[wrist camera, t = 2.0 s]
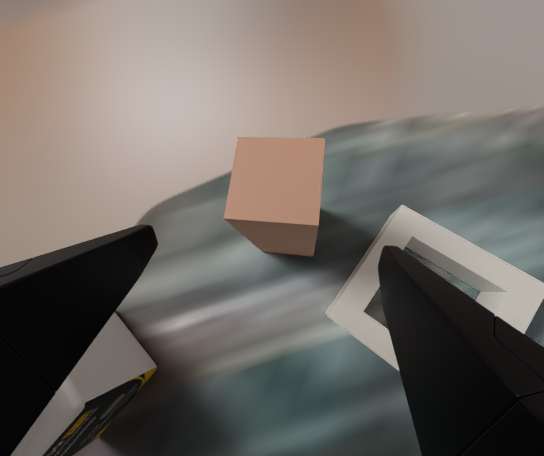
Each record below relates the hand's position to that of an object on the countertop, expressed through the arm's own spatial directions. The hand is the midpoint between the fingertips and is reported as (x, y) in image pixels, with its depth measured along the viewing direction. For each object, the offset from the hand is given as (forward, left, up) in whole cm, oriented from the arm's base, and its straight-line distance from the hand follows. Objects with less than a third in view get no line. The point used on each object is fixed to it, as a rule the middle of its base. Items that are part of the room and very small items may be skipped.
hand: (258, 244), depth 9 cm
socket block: (+1, -10, -12) cm, 16 cm away
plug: (+4, +1, -12) cm, 12 cm away
